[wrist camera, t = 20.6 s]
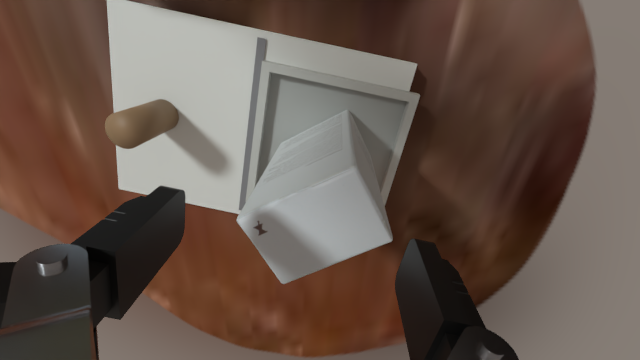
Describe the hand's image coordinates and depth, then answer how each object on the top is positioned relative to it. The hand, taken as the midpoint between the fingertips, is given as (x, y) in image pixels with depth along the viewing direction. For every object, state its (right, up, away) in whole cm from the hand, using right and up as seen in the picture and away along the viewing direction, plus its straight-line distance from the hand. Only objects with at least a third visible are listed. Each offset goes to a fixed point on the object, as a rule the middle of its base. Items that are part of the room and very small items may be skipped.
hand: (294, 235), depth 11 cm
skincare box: (+1, +4, +14) cm, 15 cm away
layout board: (-4, +6, +15) cm, 17 cm away
